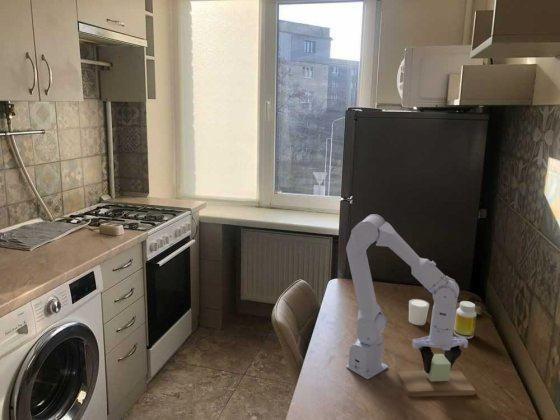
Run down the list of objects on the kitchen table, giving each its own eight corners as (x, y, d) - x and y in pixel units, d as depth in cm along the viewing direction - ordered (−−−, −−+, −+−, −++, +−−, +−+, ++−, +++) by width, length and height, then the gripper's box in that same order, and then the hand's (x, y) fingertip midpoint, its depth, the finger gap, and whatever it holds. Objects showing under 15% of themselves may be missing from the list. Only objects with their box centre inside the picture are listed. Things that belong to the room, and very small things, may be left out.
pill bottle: (475, 340, 151) (479, 309, 148) (455, 338, 152) (459, 306, 149) (471, 331, 157) (475, 301, 154) (452, 329, 158) (456, 299, 155)
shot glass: (419, 315, 167) (421, 297, 165) (431, 324, 160) (433, 306, 159) (403, 318, 165) (404, 299, 163) (414, 327, 158) (416, 308, 157)
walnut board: (474, 395, 123) (475, 390, 122) (408, 396, 121) (408, 391, 121) (459, 375, 131) (459, 370, 131) (397, 376, 130) (397, 371, 130)
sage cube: (430, 381, 123) (432, 364, 122) (423, 370, 128) (424, 354, 127) (448, 380, 124) (451, 363, 122) (440, 369, 128) (442, 353, 127)
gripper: (422, 333, 117) (416, 380, 121) (476, 331, 119) (469, 378, 122) (411, 320, 124) (406, 365, 127) (462, 318, 126) (456, 363, 129)
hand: (436, 371), depth 125 cm, fingers closed on sage cube, 5 cm apart
